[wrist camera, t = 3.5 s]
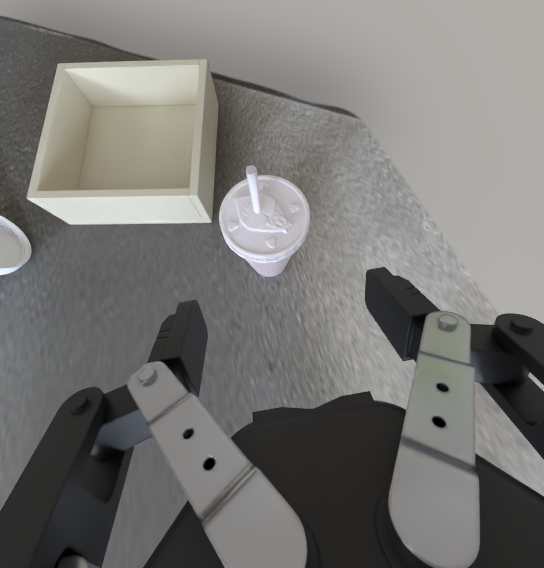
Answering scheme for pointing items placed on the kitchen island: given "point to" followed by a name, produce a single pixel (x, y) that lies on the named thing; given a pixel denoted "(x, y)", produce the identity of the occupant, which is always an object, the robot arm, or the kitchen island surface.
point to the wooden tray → (128, 143)
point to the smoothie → (265, 221)
